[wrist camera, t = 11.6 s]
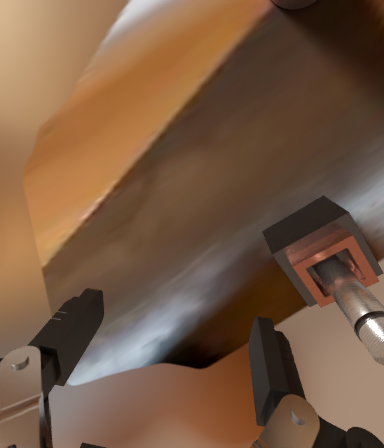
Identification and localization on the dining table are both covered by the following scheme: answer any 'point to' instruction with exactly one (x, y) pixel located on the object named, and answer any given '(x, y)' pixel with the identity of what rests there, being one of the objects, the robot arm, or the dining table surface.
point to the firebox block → (320, 248)
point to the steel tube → (355, 304)
